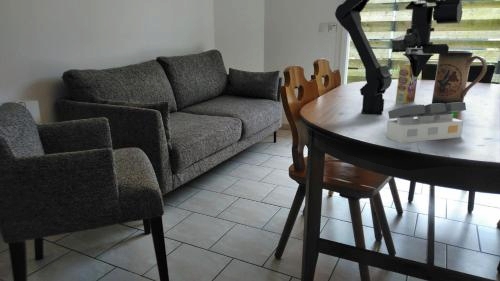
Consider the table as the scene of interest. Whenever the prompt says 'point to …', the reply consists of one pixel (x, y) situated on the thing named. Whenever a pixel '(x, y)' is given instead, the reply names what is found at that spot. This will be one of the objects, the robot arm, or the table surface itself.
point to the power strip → (424, 128)
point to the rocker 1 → (407, 111)
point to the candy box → (406, 85)
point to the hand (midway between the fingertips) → (415, 76)
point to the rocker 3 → (453, 107)
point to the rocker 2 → (433, 109)
